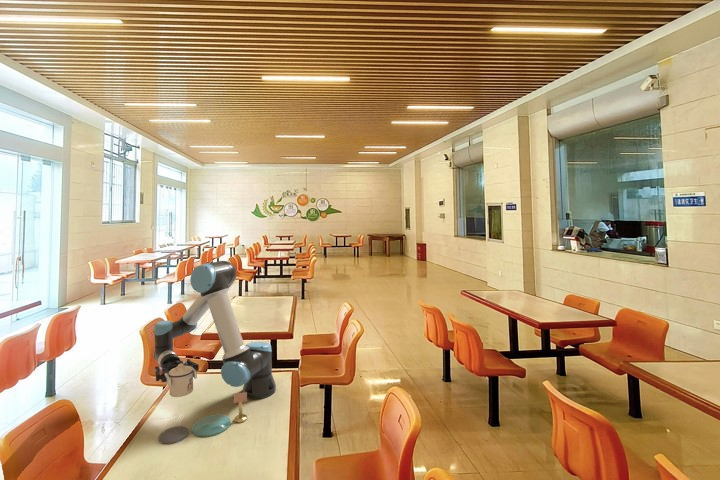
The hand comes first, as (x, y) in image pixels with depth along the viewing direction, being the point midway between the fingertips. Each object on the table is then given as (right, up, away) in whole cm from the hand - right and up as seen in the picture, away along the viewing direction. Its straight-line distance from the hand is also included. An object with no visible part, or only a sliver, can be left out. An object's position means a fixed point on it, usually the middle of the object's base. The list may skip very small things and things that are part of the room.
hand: (183, 378), depth 145 cm
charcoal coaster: (0, -18, -8) cm, 20 cm away
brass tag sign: (+22, -18, +3) cm, 28 cm away
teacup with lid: (-3, -7, +4) cm, 8 cm away
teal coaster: (+12, -18, -2) cm, 22 cm away
